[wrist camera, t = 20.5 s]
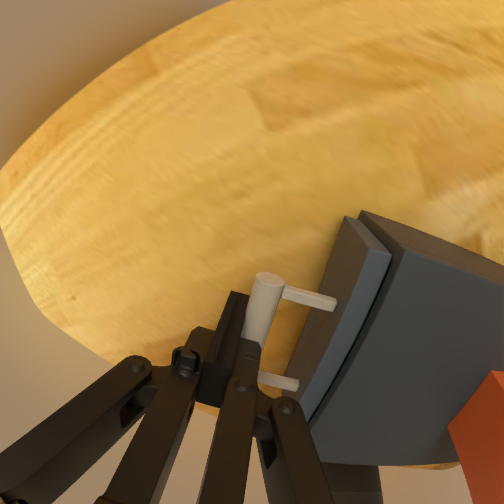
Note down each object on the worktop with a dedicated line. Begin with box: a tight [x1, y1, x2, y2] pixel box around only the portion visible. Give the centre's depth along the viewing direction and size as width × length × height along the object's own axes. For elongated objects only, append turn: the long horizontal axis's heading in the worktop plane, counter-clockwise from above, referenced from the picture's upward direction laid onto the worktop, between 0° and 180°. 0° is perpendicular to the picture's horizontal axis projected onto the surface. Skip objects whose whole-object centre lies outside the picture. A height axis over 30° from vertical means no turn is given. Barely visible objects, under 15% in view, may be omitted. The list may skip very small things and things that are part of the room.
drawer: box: [240, 216, 392, 423], centre depth 17 cm, size 20×14×7 cm
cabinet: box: [307, 210, 504, 466], centre depth 17 cm, size 17×15×9 cm
